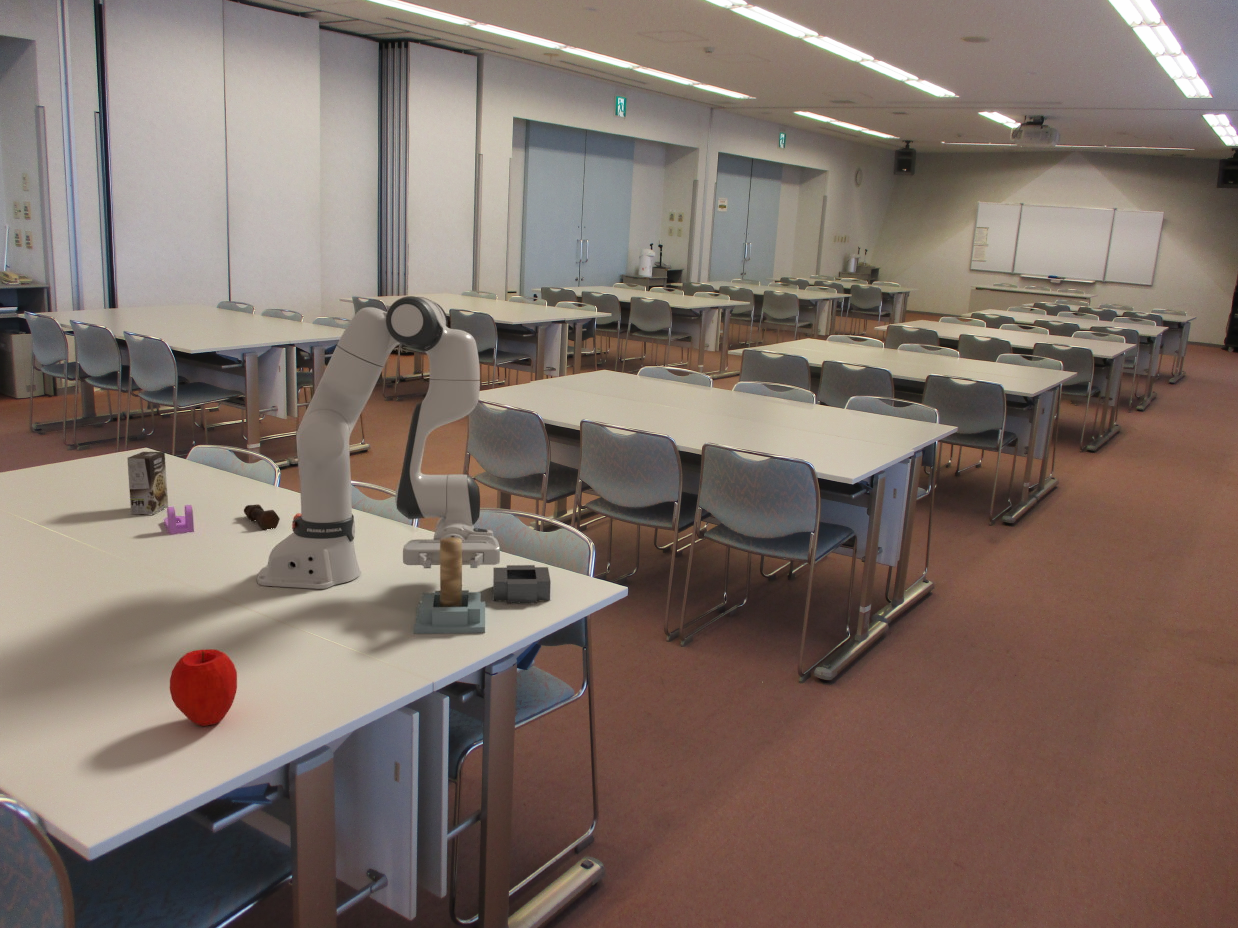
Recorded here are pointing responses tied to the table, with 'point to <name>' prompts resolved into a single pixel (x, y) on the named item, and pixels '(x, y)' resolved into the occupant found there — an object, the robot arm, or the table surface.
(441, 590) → the oak axle
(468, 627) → the teal cradle
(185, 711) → the apple
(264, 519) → the bolt
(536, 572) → the steel bore block
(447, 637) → the table surface
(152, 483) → the cookie box
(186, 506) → the bracket
